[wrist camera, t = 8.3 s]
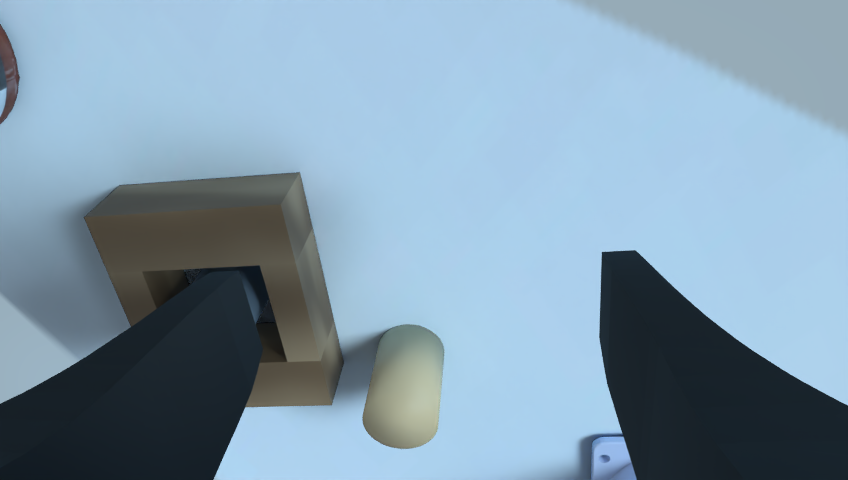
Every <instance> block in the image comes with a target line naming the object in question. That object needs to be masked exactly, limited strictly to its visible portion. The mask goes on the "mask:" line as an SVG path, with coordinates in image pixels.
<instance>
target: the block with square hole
mask: <svg viewBox="0 0 848 480" xmlns="http://www.w3.org/2000/svg"><path fill="white" fill-rule="evenodd" d="M84 219H85V221H86V223H87V226H88V228H89V230H90V233H91V235H92V237H93V240H94V242H95V244H96V247H97V249H98V251H99V253H100V256H101V258H102V260H103V263H104V265H105V267H106V270H107V272H108V274H109V277H110V279H111V281H112V284H113V286H114V288H115V291H116V293H117V295H118V297H119V300H120V302H121V304H122V307H123V309H124V311H125V314H126V316H127V318H128V321H129V323H130V325H131V327H132V326H133V325H135V324H136V323H138V322H139V321H140V320H142V319H143V318H145V317H146V316H147V315H149V314H150V313H152V312H153V311H154V310H156V309H157V308H159V307H160V306H161V305H163V304H164V303H166V302H167V301H168V300H170V299H171V298H173V297H174V296H175V295H177V294H178V293H180V292H181V291H182V290H184V289H185V288H187V287H188V286H189V284H188V281H187V278H186V276H185V273H184V270H183V269H200V268H219V267H238V266H257V265H260V268H261V272H262V275H263V278H264V282H265V285H266V289H267V292H268V296H269V299H270V303H271V306H272V310H273V313H274V317H275V320H276V323H256V328H257V331H258V334H259V337H260V340H261V344H262V347H263V352H262V356H261V359H260V363H259V367H258V371H257V375H256V378H255V382H254V385H253V389H252V392H251V394H250V397H249V399H248V402H247V404H246V406H245V407H271V406H315V405H332V402H333V399H334V395H335V392H336V388H337V385H338V381H339V378H340V374H341V371H342V367H343V364H344V362H343V357H342V353H341V349H340V344H339V340H338V336H337V331H336V327H335V323H334V318H333V314H332V310H331V305H330V301H329V297H328V292H327V288H326V284H325V279H324V275H323V271H322V266H321V262H320V258H319V253H318V249H317V245H316V240H315V236H314V232H313V227H312V223H311V219H310V214H309V210H308V206H307V201H306V197H305V193H304V188H303V184H302V180H301V175H300V173H286V174H272V175H258V176H244V177H230V178H216V179H202V180H188V181H174V182H160V183H146V184H132V185H120V186H119V187H117V188H116V189H115V190H114V191H113V192H112V193H111V194H109V195H108V196H107V197H106V198H105V199H104V200H103V201H102V202H100V203H99V204H98V205H97V206H96V207H95V208H94V209H93V210H91V211H90V212H89V213H88V214H87V215H86V216H85V217H84Z"/></svg>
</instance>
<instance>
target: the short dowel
mask: <svg viewBox="0 0 848 480" xmlns="http://www.w3.org/2000/svg"><path fill="white" fill-rule="evenodd" d="M443 362H444V347H443V344H442V342H441V340H440V339H439V338H438V336H437V335H436V334H434V333H433V332H432V331H430V330H429V329H426V328H424V327H421V326H417V325H400V326H396V327H394V328H391V329H390V330H388V331H387V332H386V333H384V335H383V336H382V337H381V339H380V341H379V345H378V349H377V354H376V358H375V363H374V367H373V372H372V376H371V381H370V385H369V390H368V394H367V399H366V403H365V408H364V412H363V425H364V427H365V429H366V431H367V432H368V434H369V435H370V436H371V437H372V438H374V439H375V440H376V441H378V442H380V443H381V444H384V445H386V446H389V447H393V448H399V449H409V448H415V447H419V446H422V445H424V444H426V443H427V442H429V441H430V440H431V439H432V438H433V437H434V436H435V434H436V432H437V429H438V421H439V409H440V397H441V385H442V374H443Z"/></svg>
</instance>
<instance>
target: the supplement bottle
mask: <svg viewBox="0 0 848 480" xmlns="http://www.w3.org/2000/svg"><path fill="white" fill-rule="evenodd" d="M19 78H20V76H19V74H18V68H17V62H16V58H15V55H14V52H13V49H12V46H11V43H10V41H9V39H8V36H7V34H6V32H5V31H4V29H3V28H2V26H1V24H0V124H1V123H2V122H3V121H4V120H5V119H6V118H7V116H8V114H9V113H10V112H11V110H12V108H13V106H14V104H15V101H16V98H17V94H18V83H19Z"/></svg>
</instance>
